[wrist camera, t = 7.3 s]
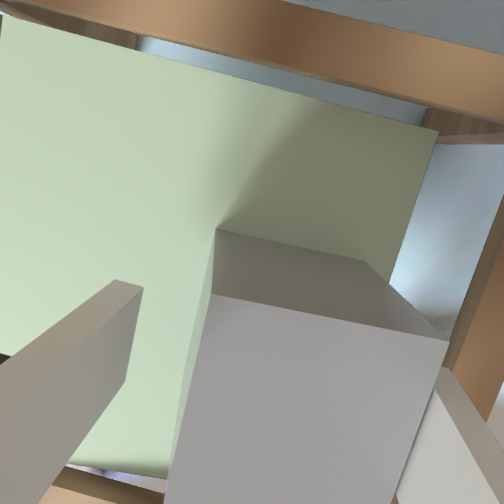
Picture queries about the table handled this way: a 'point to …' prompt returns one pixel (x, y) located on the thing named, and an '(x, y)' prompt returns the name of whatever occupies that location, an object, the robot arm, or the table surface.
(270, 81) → the table surface
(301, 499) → the cube
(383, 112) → the table surface
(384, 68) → the frame
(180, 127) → the hatch
